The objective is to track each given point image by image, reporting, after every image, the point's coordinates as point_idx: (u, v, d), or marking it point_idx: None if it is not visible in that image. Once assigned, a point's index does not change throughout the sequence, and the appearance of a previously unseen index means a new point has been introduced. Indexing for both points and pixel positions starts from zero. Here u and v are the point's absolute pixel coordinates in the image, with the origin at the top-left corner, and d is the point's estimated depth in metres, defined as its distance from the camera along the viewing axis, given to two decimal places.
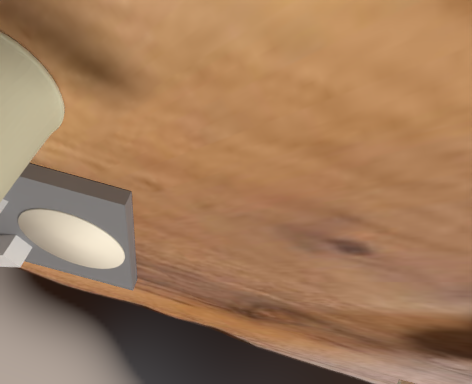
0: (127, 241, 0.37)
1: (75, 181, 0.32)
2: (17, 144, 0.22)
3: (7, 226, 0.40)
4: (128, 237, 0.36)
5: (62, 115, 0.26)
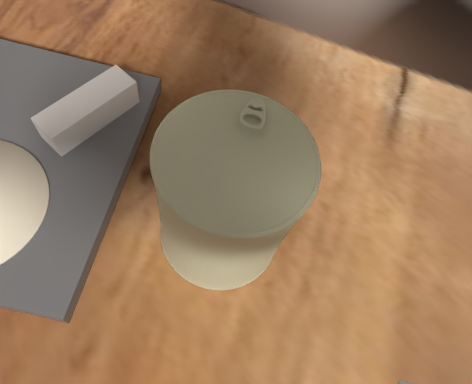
0: None
1: (93, 256, 0.28)
2: (221, 270, 0.24)
3: (3, 122, 0.31)
4: None
5: (192, 282, 0.28)
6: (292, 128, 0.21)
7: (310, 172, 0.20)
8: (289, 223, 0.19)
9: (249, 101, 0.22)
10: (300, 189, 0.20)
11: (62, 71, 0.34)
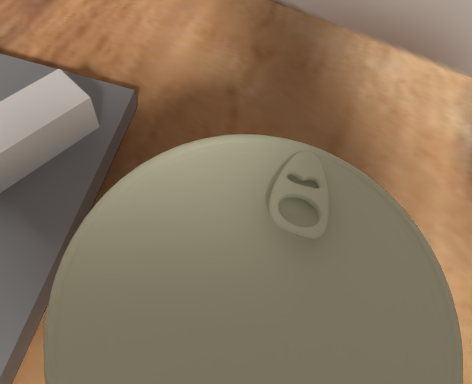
0: None
1: None
2: None
3: None
4: None
5: None
6: (383, 227, 0.10)
7: (438, 347, 0.08)
8: None
9: (288, 163, 0.10)
10: None
11: None
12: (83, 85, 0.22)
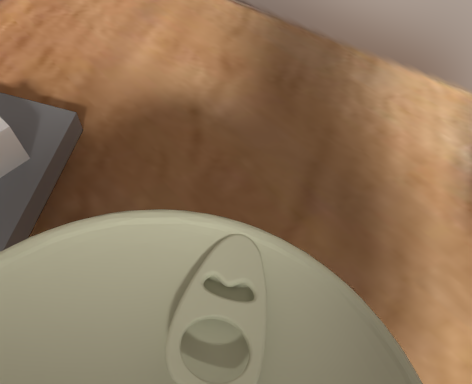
0: None
1: None
2: None
3: None
4: None
5: None
6: (354, 360, 0.06)
7: None
8: None
9: (210, 256, 0.07)
10: None
11: None
12: (14, 107, 0.19)
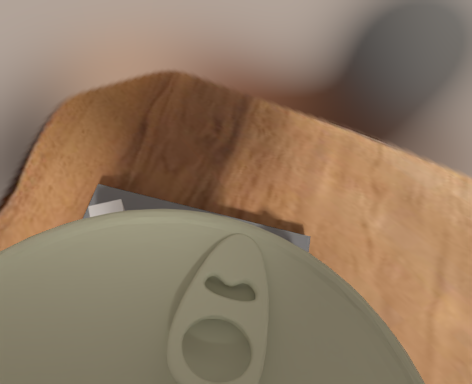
0: None
1: None
2: None
3: None
4: None
5: None
6: (356, 359, 0.06)
7: None
8: None
9: (211, 255, 0.07)
10: None
11: None
12: (277, 235, 0.33)
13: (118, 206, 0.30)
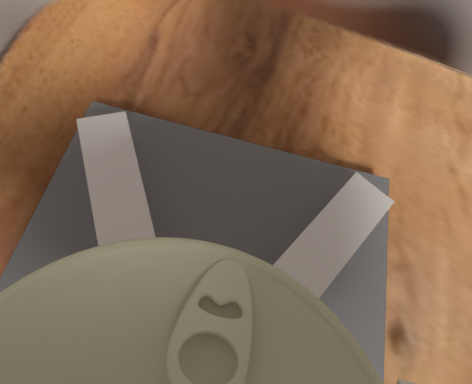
0: None
1: None
2: None
3: None
4: None
5: None
6: (327, 368, 0.07)
7: None
8: None
9: (204, 277, 0.08)
10: None
11: (255, 170, 0.23)
12: (343, 176, 0.23)
13: (121, 120, 0.20)
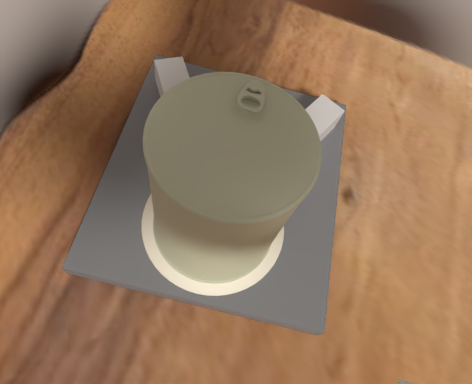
0: (237, 310, 0.27)
1: None
2: (216, 261, 0.23)
3: None
4: (245, 313, 0.27)
5: (185, 275, 0.27)
6: (291, 112, 0.21)
7: (310, 157, 0.19)
8: (289, 209, 0.18)
9: (246, 84, 0.21)
10: (300, 175, 0.19)
11: None
12: None
13: (180, 61, 0.33)
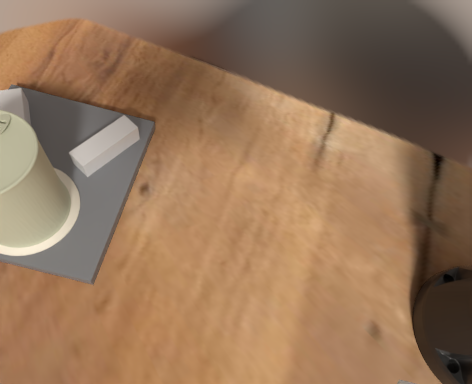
0: (30, 265, 0.40)
1: (108, 242, 0.43)
2: None
3: (48, 153, 0.46)
4: (36, 268, 0.40)
5: None
6: (24, 134, 0.33)
7: (26, 162, 0.32)
8: None
9: (0, 117, 0.34)
10: (15, 173, 0.32)
11: (86, 116, 0.49)
12: (131, 120, 0.49)
13: (18, 91, 0.46)
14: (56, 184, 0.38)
